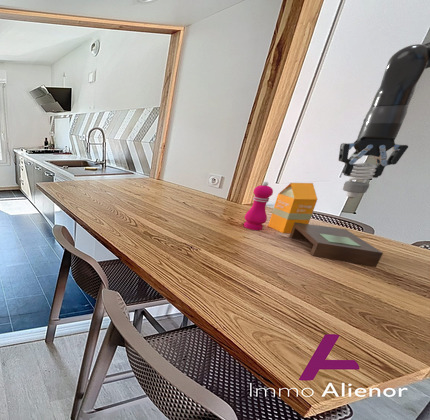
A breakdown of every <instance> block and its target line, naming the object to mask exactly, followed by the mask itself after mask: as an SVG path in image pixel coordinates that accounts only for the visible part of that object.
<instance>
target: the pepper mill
mask: <svg viewBox="0 0 430 420" xmlns="http://www.w3.org/2000/svg"><path fill="white" fill-rule="evenodd" d="M273 192H274V189H273V188H272V187H271V186H269V182H268V181H263V182H262V184H261V185H257V186H256V187H255V188H254V189H253V194H254V196H253V197H252V200H253V203H252V206H251V207H250V208H249V210H248V211H247V212H246V213H245V214H244V219H245V222H244V223H243V227H244V228H245V229H248V230H251V231H263V229H264V228H263V227H264V225H263V224H265V223H266V222H267V219H268V216H267V212H266V207H267V203H269V200H270V197H271V196H272V195H273Z"/></svg>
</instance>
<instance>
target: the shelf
mask: <svg viewBox="0 0 430 420" xmlns="http://www.w3.org/2000/svg"><path fill="white" fill-rule="evenodd" d="M289 234H290V235H289V238H290V239H295V240H300V241H307V242H309V243H311V244H312V248H311V251H310V253H309V254H310V255H311V256H312V257H314V258H320V259H327V260H331V261H336V262H337V261H338V262H343V263H350V264H353V265H354V264H355V265H361V266H366V267H371V268H377V266H378V264H379V262H380V260H381V258H382V256H383V254H384V253H383V252H382V251H381V250H379V249H377V248H376V247H375V246H373V245H371V244H370V243H369V242H366V240H363V239H362V238H360V237H359V236H357V235H355V234H354V233H352V232H351V231H350V230H348V229H346V228H340V227H333V226H325V225H318V224H310V223H309V224H303V223H296V222H295V223H294V225H293V228H292V231H291V233H289Z"/></svg>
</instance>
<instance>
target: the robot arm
mask: <svg viewBox="0 0 430 420" xmlns="http://www.w3.org/2000/svg"><path fill="white" fill-rule="evenodd" d="M429 68H430V41H428V42H427V43H423V44H421V43H417V44H416V43H415V44H410V45H408V46H405V47H403V48H401V49H399V50H397V51H396V52H395V53H393V54H392V55H391V57H390V58H389V59H388V61H387V64H386V66H385V70H384V73H383V76H382V79H381V83H380V85H379V87H378V88H377V91H376V93H375V95H374V97H373V100H372V102H371V105H370V107H369V110H368V111H367V112H366V115H365V117H364V119H363V120H362V121H363V122H362V125H361V128H360V130H359V132H358V135H357V139H356V140H355V141H354V142H350V143H349V142H348V143H347V142H346V143H345V142H342V143H340V146H339V151H338V152H339V154H338V161H339V162H341V163H344V166H343V169H342V171H341V172H342V174H343V176H346V177H350V174H352V173H351V172H352V171H353V170H352V169H353V167H354V165H353V164H356V162H357V161H358V160H359V159H361V158H363V156H367V157H368V156H373V158H374V159H375V163H376V166H377V168H375V169H376V171H375V175H373V178H372V179H377V178H379V177H381V176H382V174H383V172H384V170H385V168H386V167H387V166H390V165H393V166H394V165H396V164H398V162H399V161H400V160H401V158H402V157H403V155H404V154H405V152H406V151H407V150H408V149H409V145H407V144H397V143H396V141H395V140H396V138H397V137H398V134H399V132H400V130H401V128H402V125H403V123H404V121H405V119H406V116H407V113H408V110H409V105H410V103H411V101H412V99H413V97H414V94H415V91H416V87H417V84H418V82H419V81H420V79H421V77H422V75H423V73H424V71H425V70H426V69H429ZM352 148H354V150H355V151H353V153H351V154H350V156H349V152H350V150H352ZM389 150H391V151H392V152H391V153H390V155H389V156H388V155H387V152H388V151H389Z"/></svg>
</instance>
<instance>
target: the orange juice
mask: <svg viewBox="0 0 430 420" xmlns="http://www.w3.org/2000/svg"><path fill="white" fill-rule="evenodd" d="M317 202H318V196H317V193H316V189H315V185H314V183H313V182H290V183H289V184H288V185H287V186H285V188H283V189H282V190H281V191H280V192H279V193H277V196H276V200H275V203H274V205H273V209H272V211H271V216H270V220H269V222H268V225H267V226H268V228H271V229H273V230H275V231H277V232H280V233H281V234H291V231H292V228H293V225H294V223H295V222H296V223H303V224H310V221H311V218H312V215H313V212H314V210H315V207H316V206H317Z"/></svg>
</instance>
